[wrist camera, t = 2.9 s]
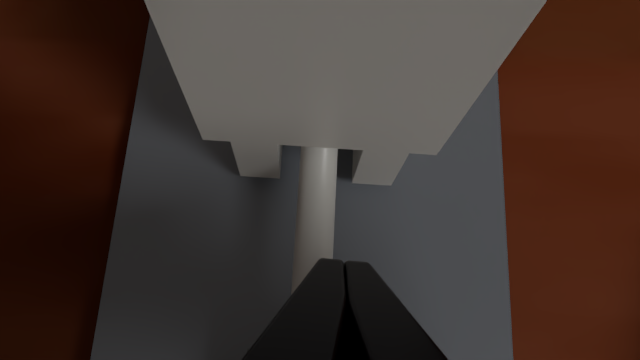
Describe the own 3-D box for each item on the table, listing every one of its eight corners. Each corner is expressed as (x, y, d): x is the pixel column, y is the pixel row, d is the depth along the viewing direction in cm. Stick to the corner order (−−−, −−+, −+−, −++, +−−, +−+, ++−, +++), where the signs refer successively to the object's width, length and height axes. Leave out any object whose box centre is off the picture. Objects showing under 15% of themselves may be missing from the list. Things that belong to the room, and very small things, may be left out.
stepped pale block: (413, 187, 17) (593, -65, 7) (217, 174, 16) (100, -103, 7) (413, 71, 18) (565, -287, 8) (231, 58, 18) (150, -325, 8)
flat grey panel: (506, 473, 16) (598, 524, 11) (86, 452, 15) (-6, 495, 11) (474, -192, 24) (519, -329, 19) (198, -215, 23) (174, -360, 19)
